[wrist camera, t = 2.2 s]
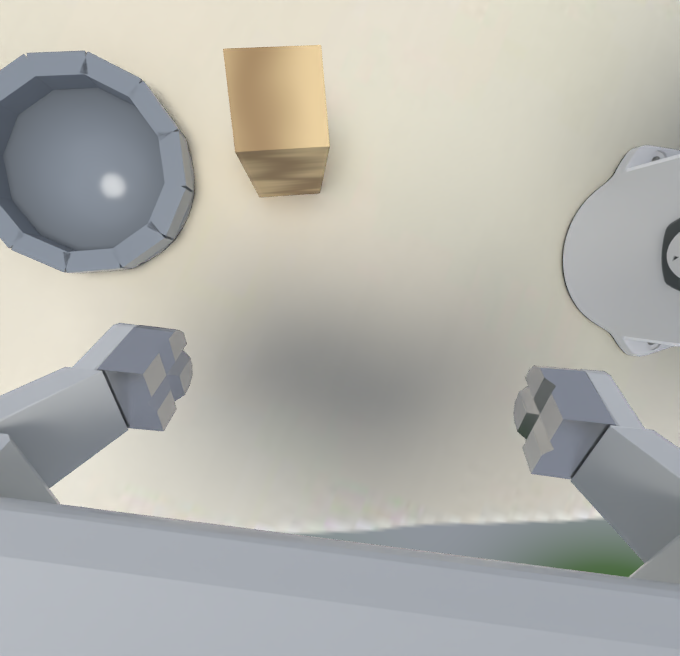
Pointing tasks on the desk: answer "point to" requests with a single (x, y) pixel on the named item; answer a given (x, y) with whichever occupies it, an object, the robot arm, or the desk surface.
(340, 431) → the desk surface
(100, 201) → the bowl
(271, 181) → the oak block
